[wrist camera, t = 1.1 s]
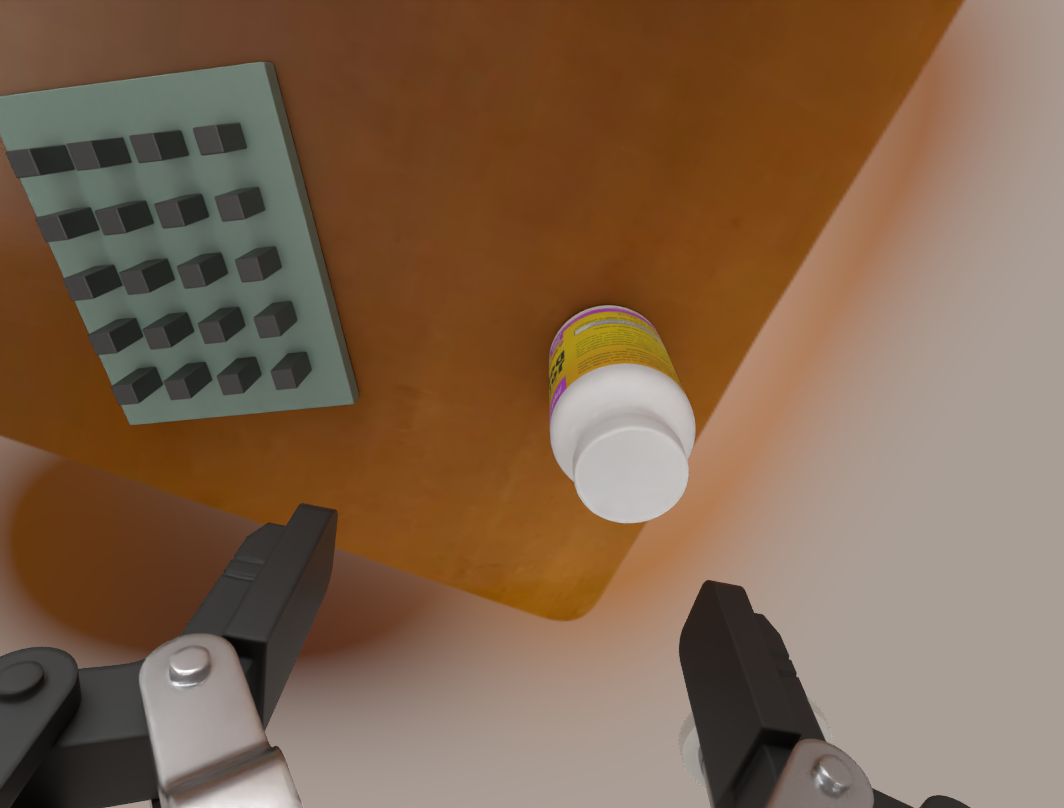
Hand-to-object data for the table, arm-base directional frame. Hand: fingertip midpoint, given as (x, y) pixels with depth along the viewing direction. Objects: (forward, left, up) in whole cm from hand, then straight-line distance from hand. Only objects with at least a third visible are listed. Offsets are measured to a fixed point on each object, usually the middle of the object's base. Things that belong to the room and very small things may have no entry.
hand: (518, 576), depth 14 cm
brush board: (+3, +18, -24) cm, 30 cm away
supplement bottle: (-5, -4, -24) cm, 25 cm away
